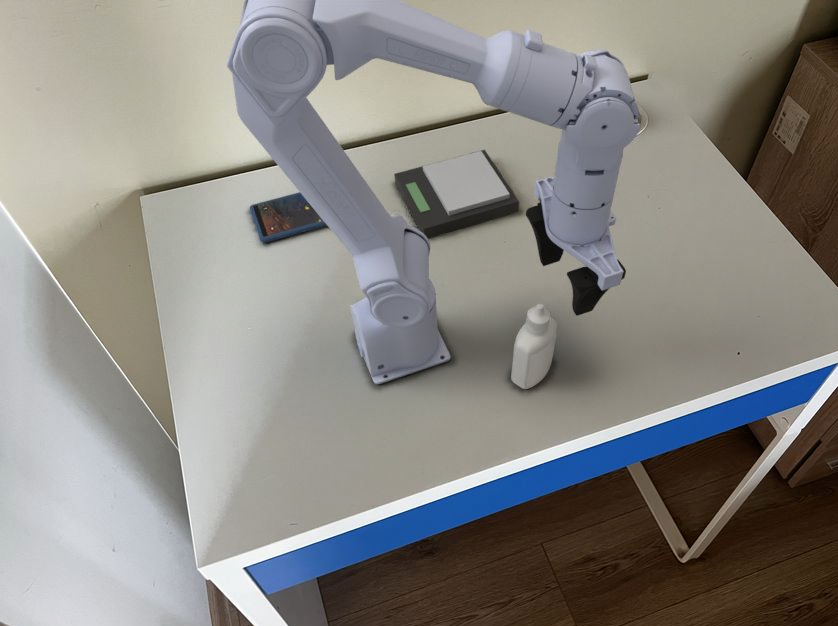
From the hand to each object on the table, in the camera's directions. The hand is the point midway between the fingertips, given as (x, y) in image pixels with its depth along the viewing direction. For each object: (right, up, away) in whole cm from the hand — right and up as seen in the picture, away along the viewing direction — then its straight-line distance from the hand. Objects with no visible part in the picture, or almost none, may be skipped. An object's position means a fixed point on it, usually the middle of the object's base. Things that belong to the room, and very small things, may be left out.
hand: (566, 285), depth 76 cm
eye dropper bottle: (-3, -10, +6) cm, 12 cm away
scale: (-12, +15, +23) cm, 30 cm away
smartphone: (-33, +12, +22) cm, 41 cm away
